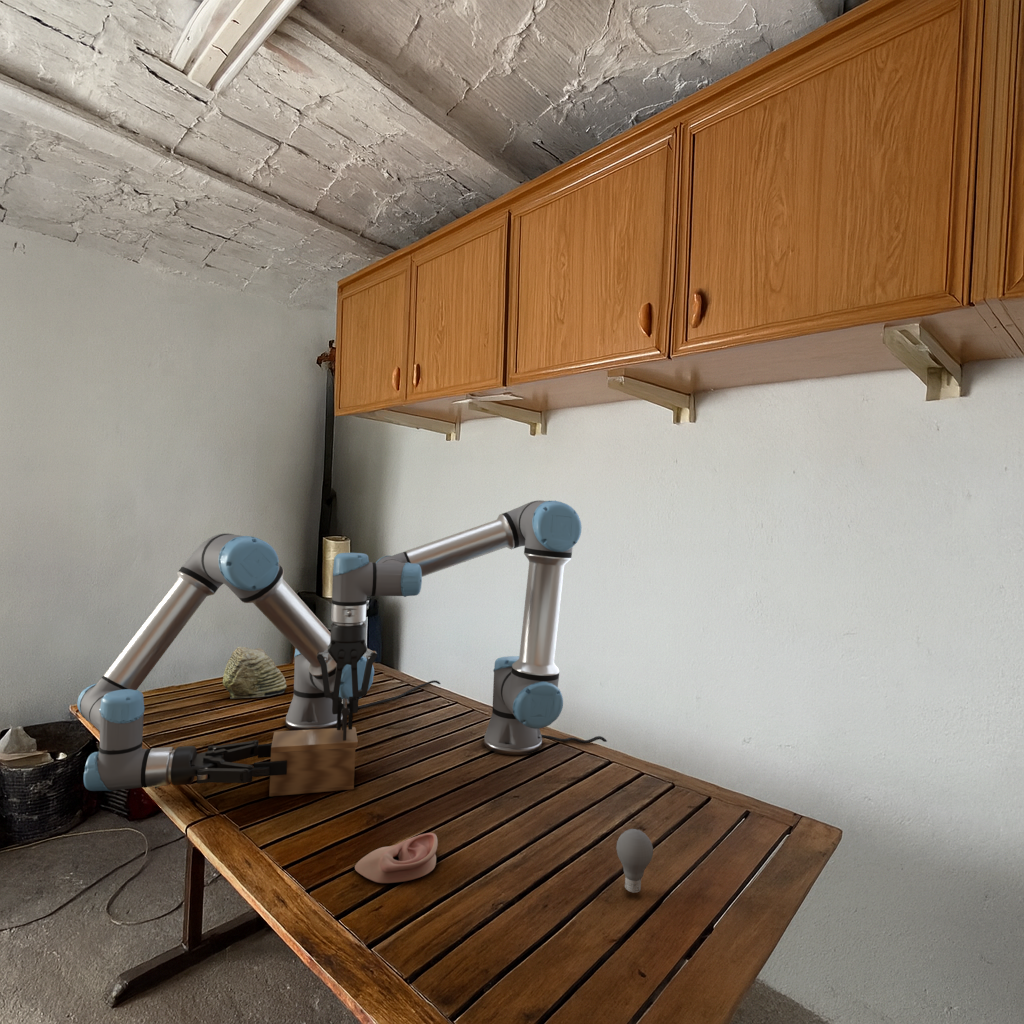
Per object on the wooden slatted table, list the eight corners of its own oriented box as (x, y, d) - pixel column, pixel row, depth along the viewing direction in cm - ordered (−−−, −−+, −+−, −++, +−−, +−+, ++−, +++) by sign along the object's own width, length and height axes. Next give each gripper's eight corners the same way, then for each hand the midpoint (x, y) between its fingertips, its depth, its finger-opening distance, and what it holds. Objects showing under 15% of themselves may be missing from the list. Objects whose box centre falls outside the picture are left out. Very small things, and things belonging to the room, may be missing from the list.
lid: (355, 732, 147) (356, 696, 146) (357, 747, 138) (359, 709, 138) (274, 736, 141) (275, 699, 141) (270, 753, 133) (272, 713, 132)
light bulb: (610, 879, 108) (613, 822, 108) (644, 879, 109) (647, 822, 109) (619, 902, 102) (622, 840, 102) (655, 901, 103) (658, 840, 103)
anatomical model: (347, 854, 106) (375, 820, 117) (346, 877, 106) (374, 841, 117) (422, 866, 103) (444, 831, 114) (421, 891, 103) (443, 853, 114)
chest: (351, 771, 147) (353, 732, 146) (353, 789, 138) (355, 747, 138) (272, 777, 142) (274, 737, 141) (269, 796, 133) (270, 753, 133)
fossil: (218, 695, 195) (220, 647, 195) (278, 685, 208) (279, 640, 207) (228, 703, 189) (230, 653, 188) (289, 692, 201) (290, 645, 201)
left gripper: (183, 762, 142) (289, 755, 149) (159, 809, 121) (284, 798, 128) (184, 729, 142) (290, 723, 148) (161, 770, 121) (285, 761, 128)
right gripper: (313, 626, 135) (309, 736, 136) (383, 625, 139) (379, 731, 140) (313, 619, 142) (309, 723, 143) (380, 618, 147) (376, 719, 147)
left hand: (287, 757), depth 138 cm, fingers closed on chest, 9 cm apart
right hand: (344, 727), depth 141 cm, fingers closed on lid, 2 cm apart
